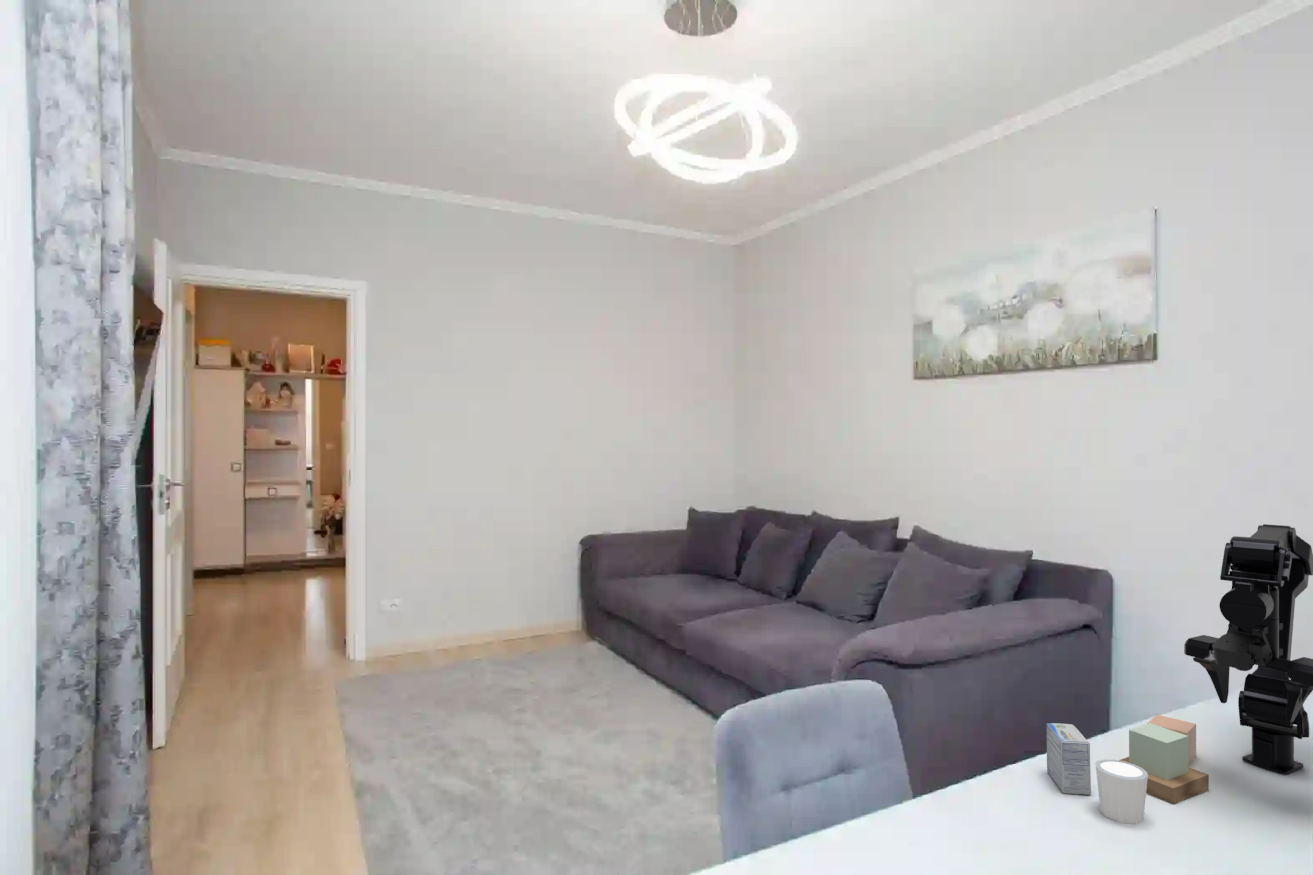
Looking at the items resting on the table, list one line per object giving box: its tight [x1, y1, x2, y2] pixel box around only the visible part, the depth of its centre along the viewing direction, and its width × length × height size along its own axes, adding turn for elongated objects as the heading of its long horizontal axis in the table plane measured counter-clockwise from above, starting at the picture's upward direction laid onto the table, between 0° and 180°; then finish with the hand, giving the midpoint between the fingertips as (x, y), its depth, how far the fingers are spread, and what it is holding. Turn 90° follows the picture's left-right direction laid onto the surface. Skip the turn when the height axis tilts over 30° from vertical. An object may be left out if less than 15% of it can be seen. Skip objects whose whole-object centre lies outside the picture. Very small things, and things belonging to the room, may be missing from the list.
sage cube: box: [1128, 723, 1190, 780], centre depth 123 cm, size 6×6×6 cm
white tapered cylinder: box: [1095, 759, 1148, 825], centre depth 114 cm, size 7×7×7 cm
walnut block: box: [1119, 756, 1210, 805], centre depth 124 cm, size 10×10×2 cm
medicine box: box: [1046, 722, 1092, 796], centre depth 124 cm, size 8×4×9 cm, turn 168°
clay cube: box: [1146, 714, 1197, 765], centre depth 134 cm, size 6×6×6 cm
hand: (1255, 711), depth 120 cm, fingers open, 9 cm apart
